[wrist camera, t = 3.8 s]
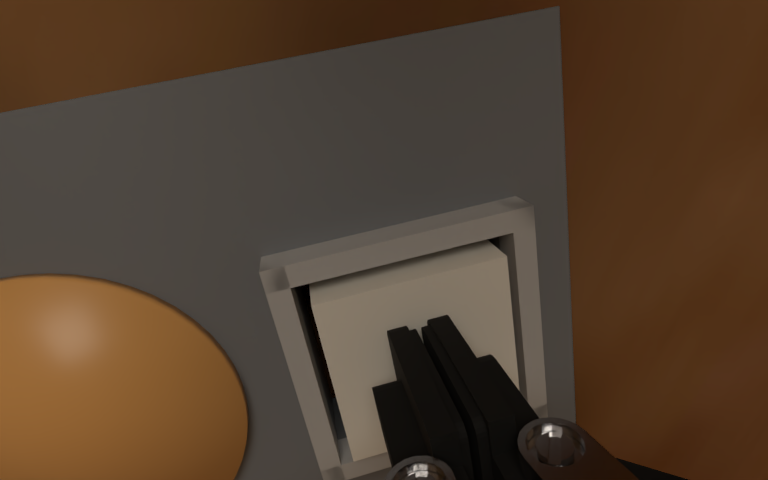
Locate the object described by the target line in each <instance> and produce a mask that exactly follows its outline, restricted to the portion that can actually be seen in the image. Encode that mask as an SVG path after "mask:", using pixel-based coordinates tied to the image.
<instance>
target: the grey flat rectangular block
mask: <svg viewBox="0 0 768 480" xmlns="http://www.w3.org/2000/svg"><path fill="white" fill-rule="evenodd" d="M486 239H487V240H488V241H489V242H491V243H492V244H493V245H494V246H495V247H497V248H498V249H499V250H500V251H501V252H503V253H504V254H505V255H506V256H507V261H508V272H509V282H510V293H511V304H512V315H513V325H514V336H515V347H516V358H517V369H518V379H519V390H520V393H521V394H522V395H523V397H524V398H525V399H526V401H527V402H528V403H529V405H530V406H531V407H532V409H533V410H534V412H535V413H536V414H537V416H538V417H539V418H547V417H555V418H561V419H565V420H568V421H570V422H573V423H575V424H576V414H575V389H574V364H573V339H572V313H571V288H570V263H569V237H568V212H567V187H566V162H565V136H564V111H563V86H562V60H561V35H560V10H559V6H556V7H551V8H546V9H541V10H535V11H530V12H525V13H520V14H514V15H509V16H504V17H499V18H494V19H488V20H483V21H478V22H473V23H468V24H462V25H457V26H452V27H447V28H441V29H436V30H431V31H426V32H421V33H415V34H410V35H405V36H400V37H394V38H389V39H384V40H379V41H374V42H368V43H363V44H358V45H353V46H348V47H342V48H337V49H332V50H327V51H321V52H316V53H311V54H306V55H301V56H295V57H290V58H285V59H280V60H274V61H269V62H264V63H259V64H254V65H248V66H243V67H238V68H233V69H227V70H222V71H217V72H212V73H207V74H201V75H196V76H191V77H186V78H181V79H175V80H170V81H165V82H160V83H154V84H149V85H144V86H139V87H134V88H128V89H123V90H118V91H113V92H107V93H102V94H97V95H92V96H87V97H81V98H76V99H71V100H66V101H61V102H55V103H50V104H45V105H40V106H34V107H29V108H24V109H19V110H14V111H8V112H3V113H0V480H385V478H386V476H387V474H388V472H389V471H390V470H391V469H392V467H391V463H390V459H389V455H388V452H385V453H381V454H378V455H375V456H371V457H368V458H365V459H361V460H358V461H353V458H352V454H351V450H350V447H349V443H348V439H347V436H346V432H345V428H344V425H343V421H342V417H341V414H340V410H339V406H338V403H337V399H336V397H335V398H332V396H331V392H330V389H329V385H328V382H327V378H326V374H325V371H324V367H323V364H322V360H321V356H320V353H319V349H318V346H317V342H316V338H315V335H314V331H313V327H312V324H311V320H310V317H309V313H308V309H307V306H306V302H305V299H304V295H303V291H302V288H301V285H305V284H309V283H313V282H317V281H321V280H326V279H330V278H334V277H338V276H342V275H346V274H350V273H354V272H358V271H362V270H366V269H370V268H374V267H378V266H382V265H386V264H390V263H394V262H398V261H402V260H406V259H410V258H414V257H418V256H422V255H426V254H430V253H434V252H438V251H442V250H446V249H450V248H454V247H458V246H462V245H466V244H470V243H474V242H478V241H482V240H486Z"/></svg>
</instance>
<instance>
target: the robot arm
mask: <svg viewBox="0 0 768 480" xmlns="http://www.w3.org/2000/svg"><path fill="white" fill-rule="evenodd" d="M427 325H428V326H424V327H421V331H422V337H423V342H424V344H423V342H422V340H421V338H420V336H419V334H418V332H417V330H416V329H413V330H409V329H408V327H407V326H403V327H399V328H395V329H391V330H388V331H387V336H388V341H389V345H390V350H391V355H392V360H393V365H394V369H395V374H396V379H397V380H396V381H393V382H389V383H386V384H382V385H379V386H375V387H372V390H373V395H374V399H375V403H376V408H377V412H378V416H379V420H380V424H381V428H382V432H383V436H384V440H385V444H386V448H387V451H388V455H389V459H390V463H391V467H392V469H391V470H390V471H389V472H388V474H387V476H386V478H385V480H688V479H684V478H681V477H678V476H674V475H671V474H668V473H664V472H661V471H658V470H654V469H651V468H648V467H644V466H641V465H638V464H634V463H631V462H628V461H624V460H621V459H618V458H615V457H614V456H613V455H611V454H610V453H609V452H608V451H607V450H606V449H605V448H604V447H603V446H602V445H600V444H599V443H598V442H597V441H596V440H595V439H594V438H593V437H592V436H590V435H589V434H588V433H587V432H586V431H585V430H584V429H582V428H581V427H580V426H578V425H577V424H575V423H573V422H570V421H568V420H565V419H561V418H555V417H547V418H539V417H538V416H537V414H536V413H535V412H534V410H533V409H532V407H531V406H530V405H529V403H528V402H527V401H526V399H525V398H524V397H523V395H522V394H521V393H520V391H519V390H518V388H517V387H516V386H515V384H514V383H513V382H512V380H511V379H510V378H509V376H508V375H507V373H506V372H505V371H504V369H503V368H502V367H501V365H500V364H499V363H498V361H497V360H496V359H495V357H494V356H493V355H491V354H489V355H485V356H482V357H478V358H477V357H476V356H475V354H474V353H473V351H472V350H471V348H470V347H469V345H468V344H467V342H466V341H465V339H464V338H463V336H462V335H461V333H460V332H459V330H458V329H457V328H456V326H455V325H454V323H453V322H452V320H451V319H450V317H449V316H448V315H444V316H440V317H436V318H433V319H429V320H427Z"/></svg>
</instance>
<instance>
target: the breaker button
mask: <svg viewBox="0 0 768 480" xmlns="http://www.w3.org/2000/svg"><path fill="white" fill-rule="evenodd" d="M309 289H310V299H311V307H312V311H313V315H314V318H315V322H316V326H317V329H318V333H319V337H320V340H321V344H322V348H323V351H324V355H325V359H326V362H327V366H328V370H329V373H330V377H331V381H332V384H333V388H334V392H335V395H336V399H337V403H338V406H339V410H340V414H341V417H342V421H343V425H344V428H345V432H346V436H347V439H348V443H349V447H350V450H351V454H352V458H353V461H358V460H361V459H365V458H368V457H371V456H375V455H378V454H381V453H385V452H388V451H387V448H386V444H385V440H384V436H383V432H382V428H381V424H380V420H379V416H378V412H377V408H376V403H375V399H374V395H373V390H372V387H375V386H379V385H382V384H386V383H389V382H393V381H396V380H397V379H396V374H395V369H394V365H393V360H392V355H391V350H390V345H389V341H388V336H387V331H388V330H391V329H395V328H399V327H403V326H407V327H408V329H409V330H413V329H416V330H417V332H418V334H419V336H420V338H421V340H422V342H423V337H422V331H421V327H424V326H428V325H427V320H429V319H433V318H436V317H440V316H444V315H448V316H449V317H450V319H451V320H452V322H453V323H454V325H455V326H456V328H457V329H458V330H459V332H460V333H461V335H462V336H463V338H464V339H465V341H466V342H467V344H468V345H469V347H470V348H471V350H472V351H473V353H474V354H475V356H476V357H477V358H478V357H482V356H485V355H489V354H491V355H493V356H494V357H495V359H496V360H497V361H498V363H499V364H500V365H501V367H502V368H503V369H504V371H505V372H506V373H507V375H508V376H509V378H510V379H511V380H512V382H513V383H514V384H515V386H516V387H517V388H518V390H519V379H518V369H517V358H516V347H515V336H514V325H513V315H512V304H511V293H510V282H509V272H508V261H507V256H506V255H505V254H504V253H503V252H501V251H500V250H499V249H498V248H497V247H495V246H494V245H493V244H492V243H491V242H489V241H488V240H487V239H486V240H482V241H478V242H474V243H470V244H466V245H462V246H458V247H454V248H450V249H446V250H442V251H438V252H434V253H430V254H426V255H422V256H418V257H414V258H410V259H406V260H402V261H398V262H394V263H390V264H386V265H382V266H378V267H374V268H370V269H366V270H362V271H358V272H354V273H350V274H346V275H342V276H338V277H334V278H330V279H326V280H321V281H317V282H313V283H309ZM423 344H424V342H423ZM519 391H520V390H519Z"/></svg>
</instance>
